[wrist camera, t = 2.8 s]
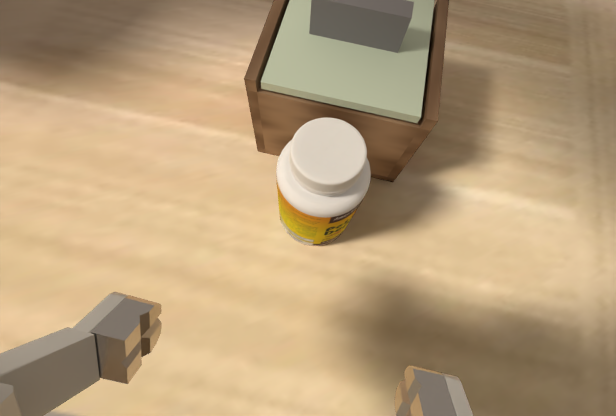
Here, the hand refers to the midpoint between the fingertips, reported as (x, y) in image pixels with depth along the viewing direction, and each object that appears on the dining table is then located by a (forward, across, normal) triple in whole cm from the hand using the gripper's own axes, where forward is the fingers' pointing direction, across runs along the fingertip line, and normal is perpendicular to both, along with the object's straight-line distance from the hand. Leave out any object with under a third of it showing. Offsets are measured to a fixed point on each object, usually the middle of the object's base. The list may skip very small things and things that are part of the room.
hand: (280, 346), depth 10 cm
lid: (+17, 0, -10) cm, 20 cm away
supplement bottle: (+16, 0, +3) cm, 16 cm away
